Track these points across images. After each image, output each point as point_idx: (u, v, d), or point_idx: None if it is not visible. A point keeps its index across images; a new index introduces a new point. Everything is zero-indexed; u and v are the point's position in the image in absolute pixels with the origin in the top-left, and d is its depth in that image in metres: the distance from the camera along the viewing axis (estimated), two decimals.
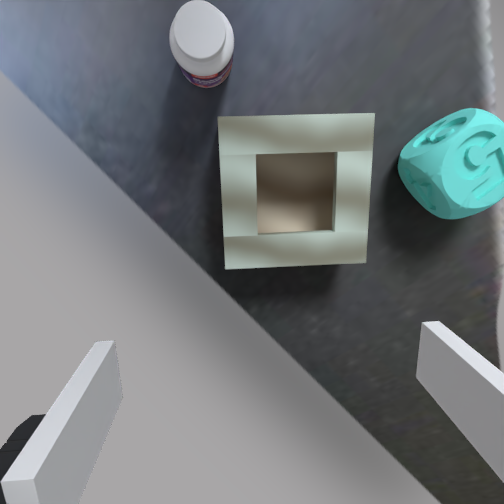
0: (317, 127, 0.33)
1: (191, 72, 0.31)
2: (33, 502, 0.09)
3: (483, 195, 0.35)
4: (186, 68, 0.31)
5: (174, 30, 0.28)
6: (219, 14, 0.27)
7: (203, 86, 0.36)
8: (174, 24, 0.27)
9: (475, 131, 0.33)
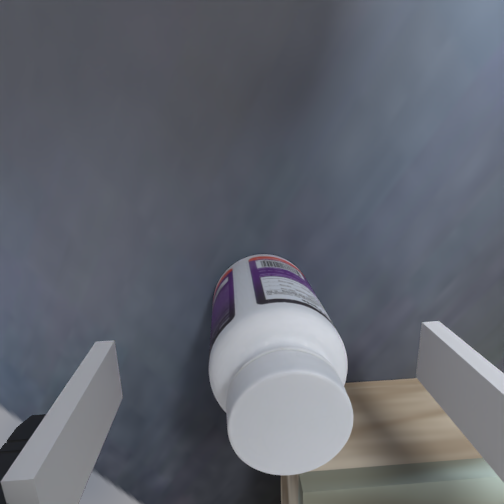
0: (497, 495, 0.16)
1: None
2: (33, 502, 0.09)
3: None
4: None
5: (230, 432, 0.11)
6: (342, 396, 0.11)
7: None
8: (231, 421, 0.11)
9: None
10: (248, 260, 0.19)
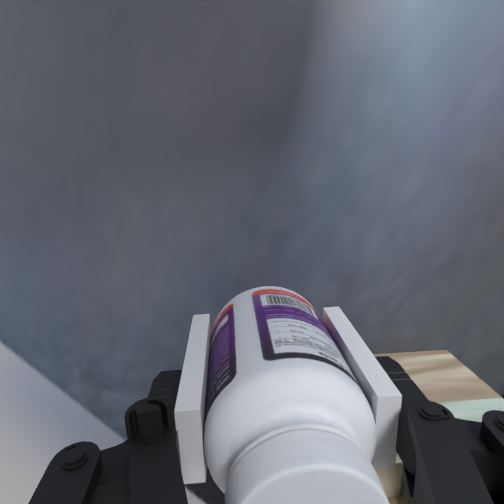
0: None
1: None
2: (196, 429, 0.11)
3: None
4: None
5: None
6: (379, 497, 0.08)
7: None
8: None
9: None
10: (251, 295, 0.16)
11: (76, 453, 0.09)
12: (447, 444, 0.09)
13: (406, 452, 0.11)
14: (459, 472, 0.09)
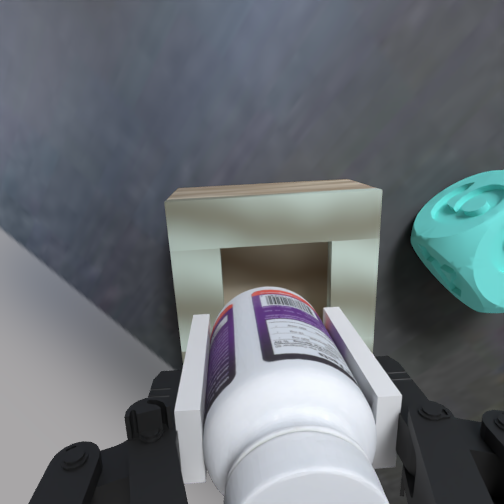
0: (303, 211, 0.24)
1: None
2: (196, 429, 0.11)
3: None
4: None
5: None
6: (380, 500, 0.08)
7: None
8: None
9: None
10: (251, 295, 0.16)
11: (76, 453, 0.09)
12: (447, 444, 0.09)
13: (406, 452, 0.11)
14: (459, 472, 0.09)
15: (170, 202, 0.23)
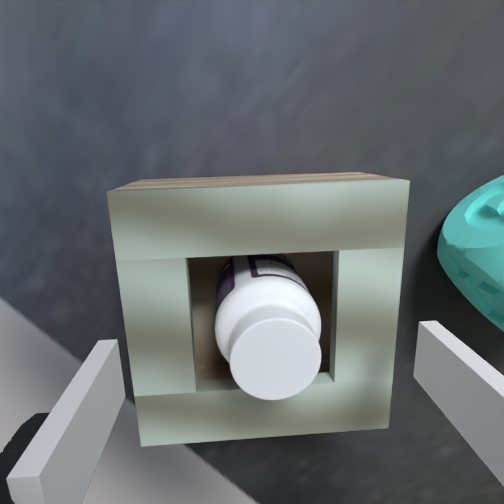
0: (301, 208, 0.17)
1: None
2: (38, 499, 0.09)
3: None
4: None
5: (232, 364, 0.15)
6: (312, 338, 0.15)
7: None
8: (232, 356, 0.15)
9: None
10: None
11: None
12: None
13: None
14: None
15: (115, 192, 0.16)
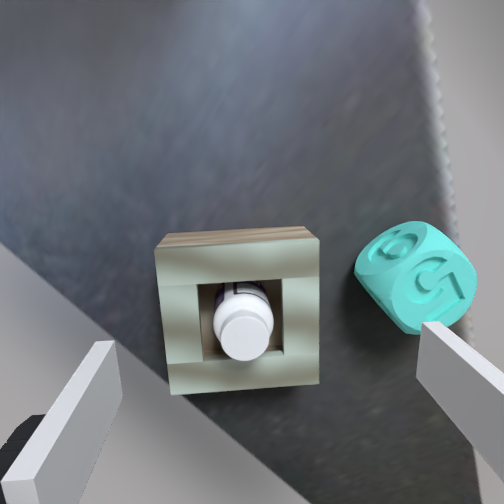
0: (259, 256, 0.31)
1: None
2: (33, 502, 0.09)
3: (438, 317, 0.33)
4: None
5: (221, 341, 0.29)
6: (263, 326, 0.29)
7: None
8: (222, 336, 0.29)
9: (425, 257, 0.31)
10: None
11: None
12: None
13: None
14: None
15: (158, 250, 0.31)
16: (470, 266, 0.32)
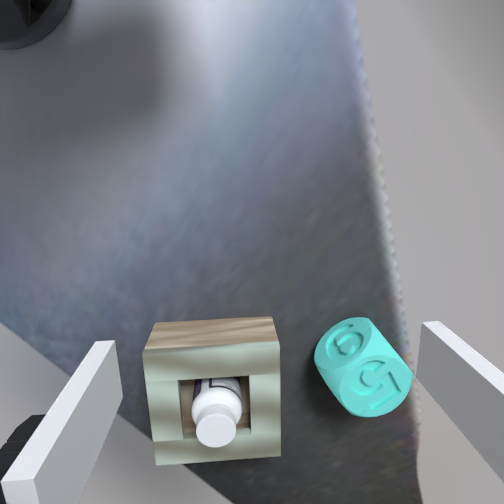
0: (230, 358, 0.38)
1: None
2: (33, 502, 0.09)
3: (379, 406, 0.40)
4: None
5: (197, 433, 0.36)
6: (231, 422, 0.36)
7: None
8: (197, 429, 0.36)
9: (366, 360, 0.38)
10: None
11: None
12: None
13: None
14: None
15: (145, 354, 0.37)
16: (405, 367, 0.38)
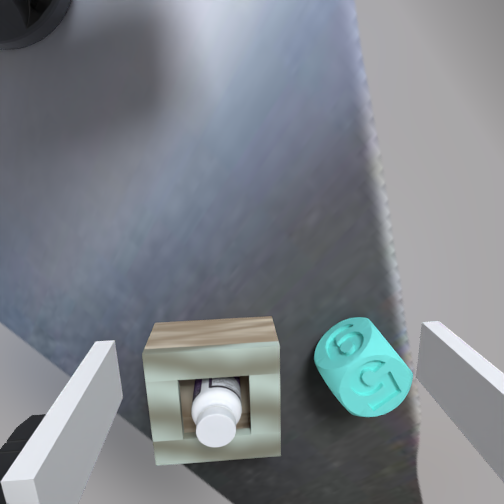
0: (230, 358, 0.38)
1: None
2: (33, 502, 0.09)
3: (379, 406, 0.40)
4: None
5: (196, 433, 0.36)
6: (231, 422, 0.36)
7: None
8: (197, 429, 0.36)
9: (367, 360, 0.38)
10: None
11: None
12: None
13: None
14: None
15: (145, 354, 0.37)
16: (405, 367, 0.38)
